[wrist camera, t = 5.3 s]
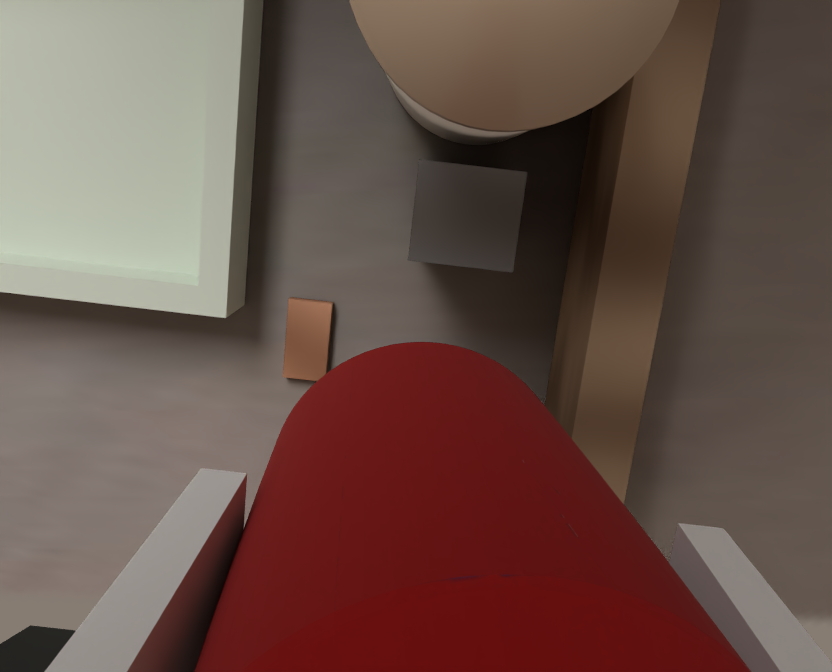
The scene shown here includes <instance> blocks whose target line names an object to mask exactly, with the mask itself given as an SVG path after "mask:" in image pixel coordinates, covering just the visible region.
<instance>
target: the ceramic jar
mask: <svg viewBox="0 0 832 672" xmlns="http://www.w3.org/2000/svg"><path fill="white" fill-rule="evenodd" d="M349 1H350V4H351V7H352V10H353V13H354V16H355V18H356V21H357V24H358V26H359V28H360V30H361V32H362V34H363V36H364V38H365V40H366V42H367V44H368V46H369V48H370V50H371V52H372V54H373V55H374V57H375V58H376V60H377V61H378V63H379V64H380V66H381V67H382V69H383V70H384V72H385V73H386V75H387V77H388V80H389V82H390V84H391V86H392V88H393V90H394V92H395V94H396V96H397V98H398V100H399V101H400V103H401V104H402V106H403V107H404V109H405V110H406V111H407V112H408V113H409V114H410V115H411V117H412V118H413V119H415V120H416V121H417V122H418V123H419V124H420V125H421V126H423V127H424V128H426V129H427V130H429V131H430V132H432V133H433V134H435V135H438V136H440V137H442V138H444V139H447V140H450V141H453V142H457V143H462V144H469V145H484V144H493V143H497V142H502V141H505V140H508V139H511V138H513V137H516V136H518V135H520V134H523V133H525V132H527V131H530V130H533V129H538V128H542V127H547V126H550V125H553V124H556V123H558V122H561V121H564V120H566V119H569V118H572V117H574V116H577V115H579V114H581V113H582V112H584V111H586V110H588V109H590V108H592V107H594V106H596V105H598V104H599V103H600V102H602V101H603V100H605V99H606V98H608V97H609V96H610V95H612V94H613V93H615V92H616V91H617V90H618V89H619V88H621V87H622V86H623V85H624V84H625V83H626V82H627V81H628V80H629V79H631V78H632V77H633V76H634V75H635V73H636V72H637V71H638V70H639V69H640V68H641V66H642V65H643V64H644V63H645V62H646V61H647V60H648V58H649V57H650V55H651V54H652V53H653V51H654V50H655V48H656V47H657V45H658V44H659V42H660V41H661V39H662V37H663V36H664V34H665V32H666V30H667V28H668V26H669V24H670V22H671V20H672V18H673V16H674V13H675V10H676V8H677V5H678V2H679V0H349Z"/></svg>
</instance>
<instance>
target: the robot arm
mask: <svg viewBox="0 0 832 672" xmlns="http://www.w3.org/2000/svg"><path fill="white" fill-rule="evenodd" d="M246 481H247V473H239V472H231V471H222V470H213V469H204V468H201V469H200V470H199V472H198V473H197V474H196V475H195V477H194V478H193V479H192V481H191V482H190V483H189V485H188V486H187V487H186V488H185V490H184V491H183V492H182V494H181V495H180V496H179V498H178V499H177V500H176V501H175V503H174V504H173V505H172V507H171V508H170V509H169V511H168V512H167V513H166V514H165V516H164V517H163V518H162V520H161V521H160V522H159V524H158V525H157V526H156V527H155V529H154V530H153V531H152V533H151V534H150V535H149V537H148V538H147V539H146V540H145V542H144V543H143V544H142V546H141V547H140V548H139V550H138V551H137V552H136V553H135V555H134V556H133V557H132V559H131V560H130V561H129V563H128V564H127V565H126V566H125V568H124V569H123V570H122V572H121V573H120V574H119V576H118V577H117V578H116V579H115V581H114V582H113V583H112V585H111V586H110V587H109V589H108V590H107V591H106V592H105V594H104V595H103V596H102V598H101V599H100V600H99V602H98V603H97V604H96V605H95V607H94V608H93V609H92V611H91V612H90V614H89V615H88V616H87V617H86V619H85V620H84V621H83V623H82V624H81V625H80V626H79V628H78V629H77V630H76V631H73V630H65V629H57V628H47V627H39V626H29V627H27V628H26V629H24V630H22V631H21V632H19V633H18V634H16V635H14V636H13V637H11V638H9V639H8V640H6V641H4V642H3V643H1V644H0V672H194V671H195V668H196V665H197V662H198V659H199V656H200V653H201V650H202V647H203V644H204V641H205V638H206V635H207V632H208V629H209V626H210V624H211V621H212V618H213V615H214V612H215V609H216V606H217V604H218V601H219V598H220V595H221V592H222V589H223V586H224V583H225V581H226V578H227V575H228V572H229V569H230V566H231V563H232V561H233V558H234V555H235V552H236V549H237V546H238V544H239V541H240V538H241V535H242V533H243V527H244V512H245V497H246ZM669 564H670V565H671V566H672V568H673V569H674V570H675V571H676V573H677V574H678V575H679V577H680V578H681V579H682V581H683V582H684V583H685V585H686V586H687V587H688V589H689V590H690V591H691V593H692V594H693V595H694V597H695V598H696V599H697V601H698V602H699V603H700V604H701V606H702V607H703V608H704V610H705V611H706V612H707V614H708V615H709V616H710V618H711V619H712V620H713V622H714V623H715V624H716V626H717V627H718V628H719V630H720V631H721V632H722V634H723V635H724V636H725V637H726V639H727V640H728V641H729V643H730V644H731V645H732V647H733V648H734V649H735V651H736V652H737V653H738V655H739V656H740V657H741V659H742V660H743V661H744V663H745V664H746V665H747V667H748V668H749V669H750V670H751V672H832V662H831V661H830V660H829V658H828V657H827V656H826V655H825V653H824V652H823V651H822V650H821V648H820V647H819V646H818V645H817V644H816V642H815V641H814V640H813V639H812V637H811V636H810V635H809V634H808V632H807V631H806V630H805V629H804V627H803V626H802V625H801V624H800V622H799V621H798V620H797V619H796V618H795V616H794V615H793V614H792V613H791V611H790V610H789V609H788V608H787V606H786V605H785V604H784V603H783V601H782V600H781V599H780V598H779V596H778V595H777V594H776V593H775V592H774V590H773V589H772V588H771V587H770V585H769V584H768V583H767V582H766V580H765V579H764V578H763V577H762V575H761V574H760V573H759V572H758V570H757V569H756V568H755V567H754V566H753V564H752V563H751V562H750V561H749V559H748V558H747V557H746V556H745V554H744V553H743V552H742V551H741V549H740V548H739V547H738V546H737V544H736V543H735V542H734V541H733V540H732V538H731V537H730V536H729V535H728V533H727V532H726V531H725V530H724V528H717V527H708V526H700V525H691V524H682V523H678V524H677V529H676V534H675V538H674V543H673V547H672V552H671V557H670V561H669Z"/></svg>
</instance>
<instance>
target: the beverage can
mask: <svg viewBox="0 0 832 672" xmlns="http://www.w3.org/2000/svg"><path fill="white" fill-rule="evenodd" d="M194 672H751V670H750V669H749V668H748V667H747V665H746V664H745V663H744V661H743V660H742V659H741V657H740V656H739V655H738V653H737V652H736V651H735V649H734V648H733V647H732V645H731V644H730V643H729V641H728V640H727V639H726V637H725V636H724V635H723V634H722V632H721V631H720V630H719V628H718V627H717V626H716V624H715V623H714V622H713V620H712V619H711V618H710V616H709V615H708V614H707V612H706V611H705V610H704V608H703V607H702V606H701V604H700V603H699V602H698V601H697V599H696V598H695V597H694V595H693V594H692V593H691V591H690V590H689V589H688V587H687V586H686V585H685V583H684V582H683V581H682V579H681V578H680V577H679V575H678V574H677V573H676V571H675V570H674V569H673V568H672V566H671V565H670V564H669V562H668V561H667V560H666V558H665V557H664V556H663V554H662V553H661V552H660V550H659V549H658V548H657V547H656V545H655V544H654V543H653V541H652V540H651V539H650V538H649V536H648V535H647V534H646V532H645V531H644V530H643V529H642V527H641V526H640V525H639V523H638V522H637V521H636V520H635V518H634V517H633V516H632V514H631V513H630V512H629V511H628V509H627V508H626V507H625V506H624V504H623V503H622V502H621V500H620V499H619V498H618V497H617V495H616V494H615V493H614V491H613V490H612V489H611V488H610V486H609V485H608V484H607V483H606V481H605V480H604V479H603V477H602V476H601V475H600V474H599V472H598V471H597V470H596V469H595V467H594V466H593V465H592V464H591V462H590V461H589V460H588V459H587V457H586V456H585V455H584V454H583V452H582V451H581V450H580V449H579V447H578V446H577V445H576V444H575V442H574V441H573V440H572V439H571V437H570V436H569V435H568V434H567V432H566V431H565V430H564V429H563V427H562V426H561V425H560V424H559V423H558V421H557V420H556V419H555V418H554V417H553V415H552V414H551V413H550V412H549V411H548V409H547V408H546V407H545V406H544V405H543V403H542V402H541V401H540V400H539V399H538V397H537V396H536V395H535V394H534V393H533V392H532V391H531V389H530V388H529V387H528V386H527V385H526V384H525V383H524V382H523V381H522V380H521V379H519V378H518V377H517V376H516V375H515V374H514V373H512V372H511V371H510V370H508V369H507V368H506V367H504V366H502V365H501V364H499V363H497V362H496V361H494V360H492V359H490V358H488V357H486V356H484V355H482V354H479V353H477V352H474V351H472V350H468V349H465V348H462V347H458V346H453V345H448V344H442V343H433V342H411V343H401V344H394V345H389V346H384V347H380V348H377V349H374V350H370V351H367V352H365V353H362V354H360V355H358V356H355V357H353V358H351V359H349V360H347V361H345V362H343V363H342V364H340V365H338V366H337V367H335V368H334V369H332V370H331V371H329V372H328V373H327V374H325V375H324V376H323V377H322V378H320V379H319V380H318V381H317V382H316V383H315V384H314V385H313V386H312V387H310V389H309V390H308V391H307V392H306V393H305V394H304V395H303V396H302V397H301V399H300V400H299V401H298V403H297V404H296V405H295V407H294V408H293V410H292V411H291V413H290V414H289V416H288V418H287V419H286V421H285V423H284V425H283V427H282V429H281V432H280V434H279V437H278V439H277V442H276V445H275V447H274V450H273V452H272V455H271V457H270V460H269V463H268V465H267V468H266V470H265V473H264V476H263V478H262V481H261V483H260V486H259V489H258V491H257V494H256V497H255V500H254V502H253V505H252V508H251V511H250V513H249V516H248V519H247V522H246V524H245V527H244V530H243V533H242V535H241V538H240V541H239V544H238V546H237V549H236V552H235V555H234V558H233V561H232V563H231V566H230V569H229V572H228V575H227V578H226V581H225V583H224V586H223V589H222V592H221V595H220V598H219V601H218V604H217V606H216V609H215V612H214V615H213V618H212V621H211V624H210V626H209V629H208V632H207V635H206V638H205V641H204V644H203V647H202V650H201V653H200V656H199V659H198V662H197V665H196V668H195V671H194Z"/></svg>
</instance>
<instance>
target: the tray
mask: <svg viewBox="0 0 832 672" xmlns="http://www.w3.org/2000/svg"><path fill="white" fill-rule="evenodd" d="M263 1H264V0H0V292H5V293H14V294H23V295H31V296H40V297H49V298H57V299H66V300H74V301H83V302H92V303H100V304H109V305H117V306H126V307H135V308H143V309H152V310H160V311H169V312H178V313H186V314H195V315H204V316H212V317H221V318H227V317H228V316H230V315H231V314H233V313H234V312H235V311H237V310H238V309H240V308H241V307H242V306H244V305H245V290H246V274H247V258H248V242H249V226H250V210H251V194H252V178H253V162H254V146H255V130H256V114H257V98H258V82H259V65H260V49H261V33H262V17H263Z"/></svg>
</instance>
